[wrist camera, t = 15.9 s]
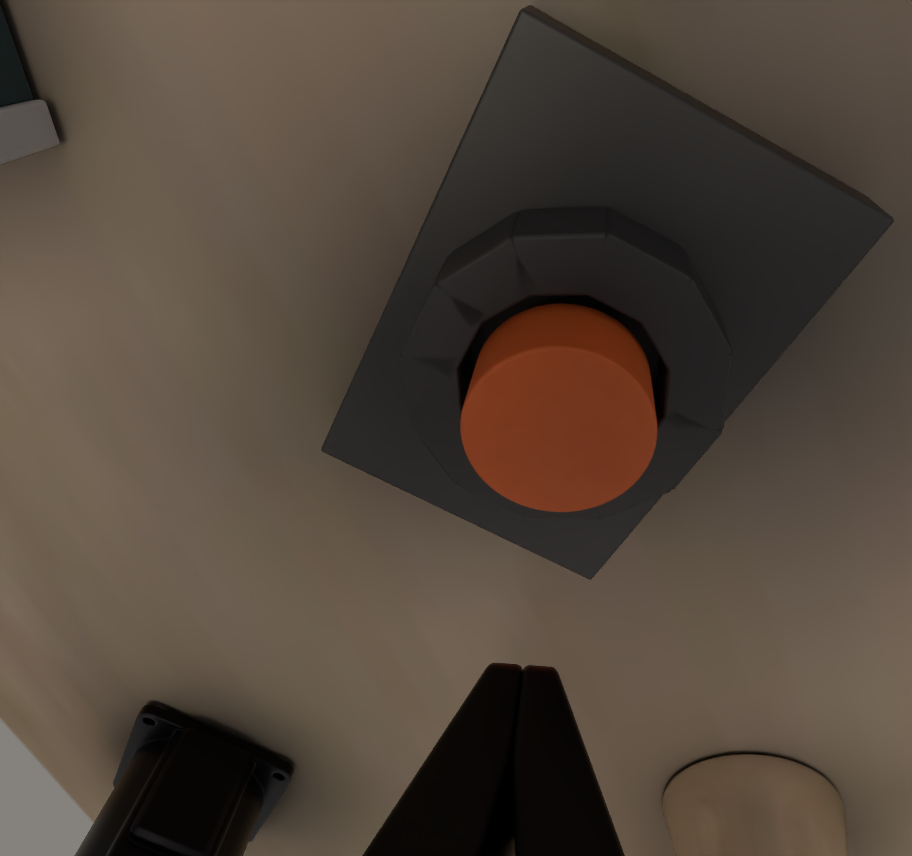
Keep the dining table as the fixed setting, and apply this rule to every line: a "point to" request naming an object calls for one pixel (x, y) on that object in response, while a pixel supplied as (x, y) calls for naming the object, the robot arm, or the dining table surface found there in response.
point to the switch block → (596, 273)
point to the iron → (20, 107)
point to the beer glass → (753, 809)
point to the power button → (560, 409)
